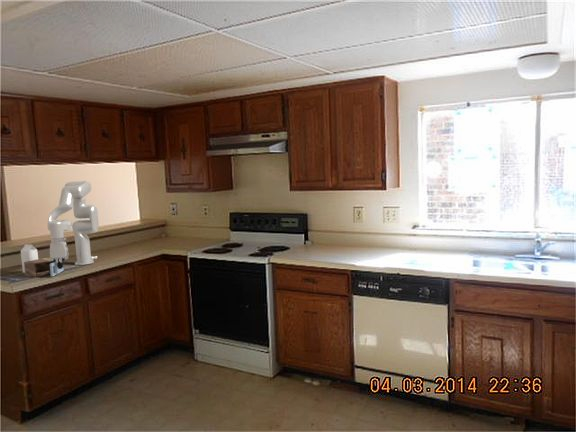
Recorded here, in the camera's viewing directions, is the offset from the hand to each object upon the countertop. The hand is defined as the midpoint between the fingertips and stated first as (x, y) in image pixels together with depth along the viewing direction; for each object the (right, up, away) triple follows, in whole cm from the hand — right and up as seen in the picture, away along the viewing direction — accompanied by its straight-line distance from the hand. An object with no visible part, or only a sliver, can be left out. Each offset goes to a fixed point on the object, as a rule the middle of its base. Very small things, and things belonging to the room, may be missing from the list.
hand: (60, 268), depth 288 cm
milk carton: (-27, -4, +15) cm, 31 cm away
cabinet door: (-3, -4, +3) cm, 5 cm away
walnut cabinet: (-15, -4, +8) cm, 18 cm away
